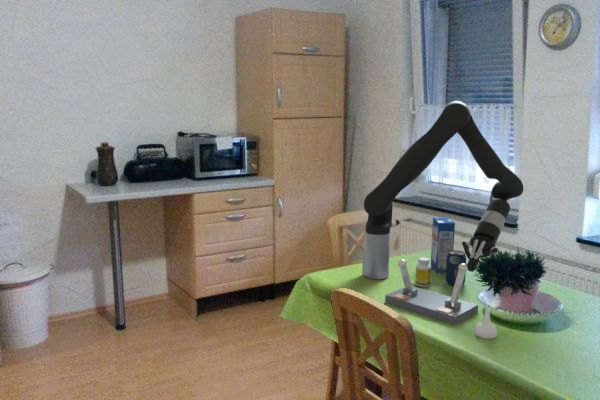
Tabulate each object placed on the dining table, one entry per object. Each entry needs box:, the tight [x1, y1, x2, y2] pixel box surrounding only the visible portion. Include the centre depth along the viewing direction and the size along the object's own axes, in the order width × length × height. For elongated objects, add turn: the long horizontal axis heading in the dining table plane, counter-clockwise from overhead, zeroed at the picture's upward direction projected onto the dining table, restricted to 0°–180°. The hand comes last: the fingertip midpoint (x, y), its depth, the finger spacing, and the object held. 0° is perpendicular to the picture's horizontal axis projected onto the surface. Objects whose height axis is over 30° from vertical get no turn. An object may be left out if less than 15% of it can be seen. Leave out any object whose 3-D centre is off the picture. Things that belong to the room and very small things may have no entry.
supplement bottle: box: [414, 256, 432, 288], centre depth 201 cm, size 5×5×10 cm
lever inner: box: [397, 259, 413, 293], centre depth 182 cm, size 3×3×13 cm
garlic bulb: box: [474, 308, 498, 340], centre depth 159 cm, size 6×6×8 cm
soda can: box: [445, 249, 467, 287], centre depth 201 cm, size 7×7×12 cm
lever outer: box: [450, 263, 468, 304], centre depth 175 cm, size 3×3×13 cm
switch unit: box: [384, 285, 479, 326], centre depth 180 cm, size 26×14×4 cm, turn 45°
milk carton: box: [430, 217, 456, 274], centre depth 218 cm, size 10×6×20 cm, turn 179°
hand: (470, 270), depth 179 cm, fingers closed
